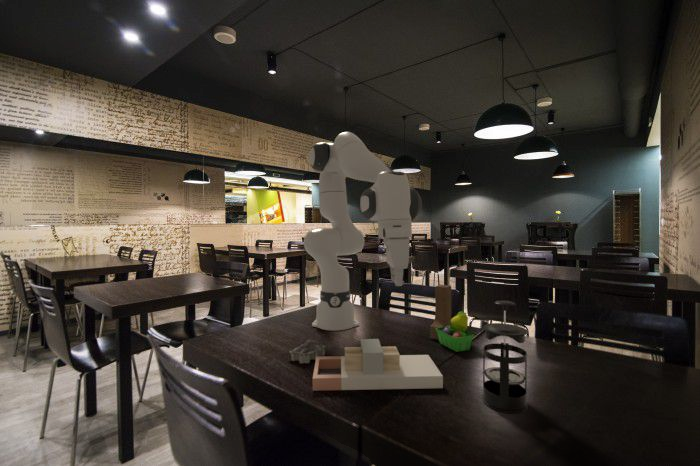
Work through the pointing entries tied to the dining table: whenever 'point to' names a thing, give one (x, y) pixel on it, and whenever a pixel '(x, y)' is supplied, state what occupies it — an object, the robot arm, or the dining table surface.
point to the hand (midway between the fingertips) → (396, 283)
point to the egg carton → (304, 355)
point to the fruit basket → (456, 334)
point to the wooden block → (441, 309)
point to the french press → (505, 368)
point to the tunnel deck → (376, 372)
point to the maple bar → (356, 358)
